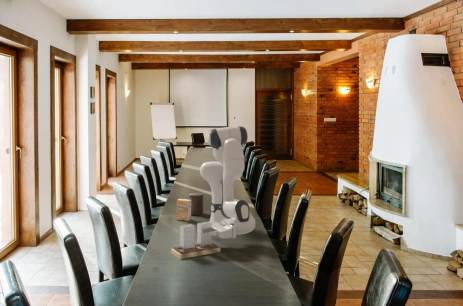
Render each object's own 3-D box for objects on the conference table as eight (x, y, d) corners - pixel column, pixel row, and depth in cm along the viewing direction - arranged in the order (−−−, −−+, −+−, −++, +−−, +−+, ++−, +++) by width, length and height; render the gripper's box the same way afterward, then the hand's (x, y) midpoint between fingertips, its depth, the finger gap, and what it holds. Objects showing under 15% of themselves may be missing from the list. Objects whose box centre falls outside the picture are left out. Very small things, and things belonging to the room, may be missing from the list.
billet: (190, 247, 216) (191, 224, 215) (194, 250, 213) (194, 225, 212) (179, 249, 213) (180, 225, 212) (183, 252, 210) (183, 227, 209)
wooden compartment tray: (210, 246, 226) (210, 241, 226) (220, 251, 218) (220, 246, 217) (171, 253, 214) (171, 247, 214) (180, 259, 206) (180, 253, 206)
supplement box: (176, 220, 277) (176, 199, 276) (179, 218, 282) (179, 198, 281) (188, 221, 275) (188, 200, 274) (191, 219, 280) (191, 199, 278)
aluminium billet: (207, 244, 222) (207, 221, 220) (211, 247, 218) (211, 223, 217) (197, 246, 218) (197, 223, 217) (200, 249, 215) (201, 225, 214)
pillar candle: (202, 216, 290) (203, 193, 288) (187, 215, 289) (188, 193, 288) (203, 212, 299) (203, 191, 298) (189, 212, 299) (189, 190, 298)
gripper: (216, 217, 233) (193, 220, 225) (237, 226, 216) (213, 230, 208) (216, 229, 234) (193, 232, 226) (237, 239, 216) (213, 243, 209)
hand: (203, 231), depth 217 cm, fingers open, 8 cm apart
